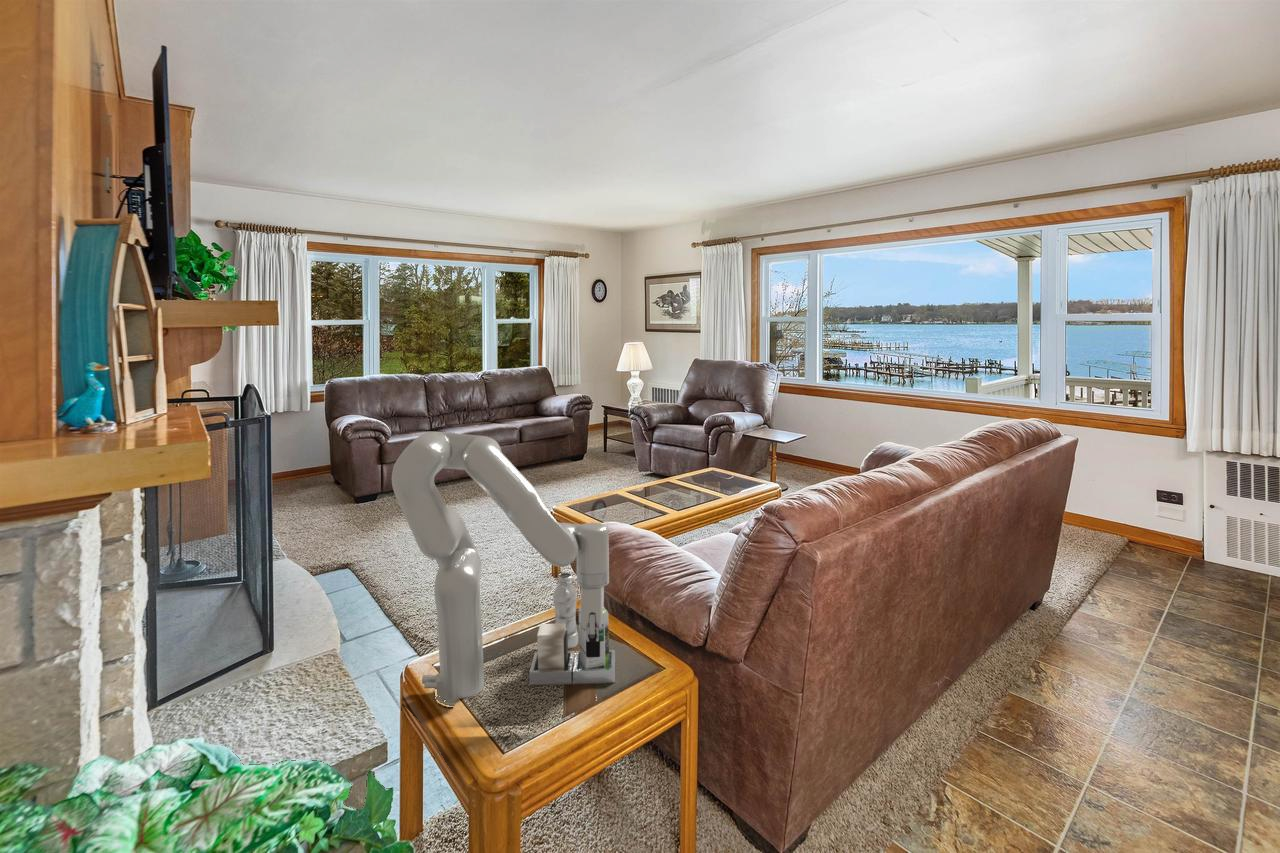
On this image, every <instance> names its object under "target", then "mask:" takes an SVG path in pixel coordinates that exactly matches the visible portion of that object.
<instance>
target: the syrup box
mask: <svg viewBox="0 0 1280 853" xmlns="http://www.w3.org/2000/svg"><path fill="white" fill-rule="evenodd" d="M595 618H596V613H595ZM588 623H589V622H588ZM609 624H610V623H609V611H608V610H607V609H606V608H605V606H604V608H603V619H602V627H601V628H600V629H599V640H600V657H586V640H587V627H586V629H581V606H580V607H578V638H579V639H578V644H579V650H578V651H580V665H581V666H582V668H583V669H609V650H610V647H609V646H610V644H609V643H610V639H609V638H610V635H609V634H610V631H609V627H610V626H609ZM589 627H590V624H589ZM595 627H597V625H595ZM595 633H596V630H595Z"/></svg>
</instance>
